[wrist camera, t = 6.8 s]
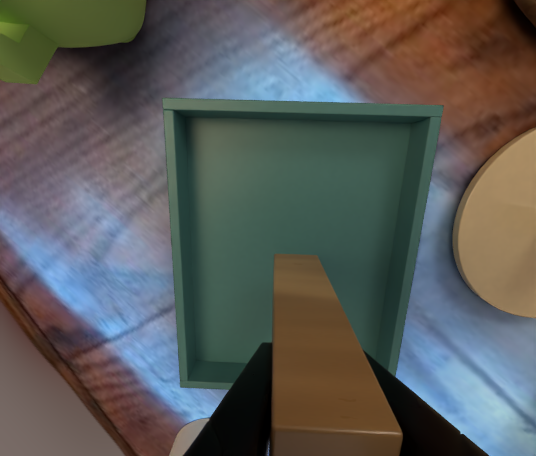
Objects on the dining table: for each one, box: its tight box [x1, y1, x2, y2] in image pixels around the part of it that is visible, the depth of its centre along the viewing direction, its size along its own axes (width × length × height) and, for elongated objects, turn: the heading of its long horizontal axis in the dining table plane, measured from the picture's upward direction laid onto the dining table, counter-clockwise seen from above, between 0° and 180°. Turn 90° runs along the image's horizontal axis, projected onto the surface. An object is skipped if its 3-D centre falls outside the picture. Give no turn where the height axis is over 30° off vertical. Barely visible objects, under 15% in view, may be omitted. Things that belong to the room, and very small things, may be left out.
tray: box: [162, 98, 444, 390], centre depth 17 cm, size 19×15×3 cm
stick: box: [269, 254, 403, 456], centre depth 10 cm, size 2×2×10 cm
